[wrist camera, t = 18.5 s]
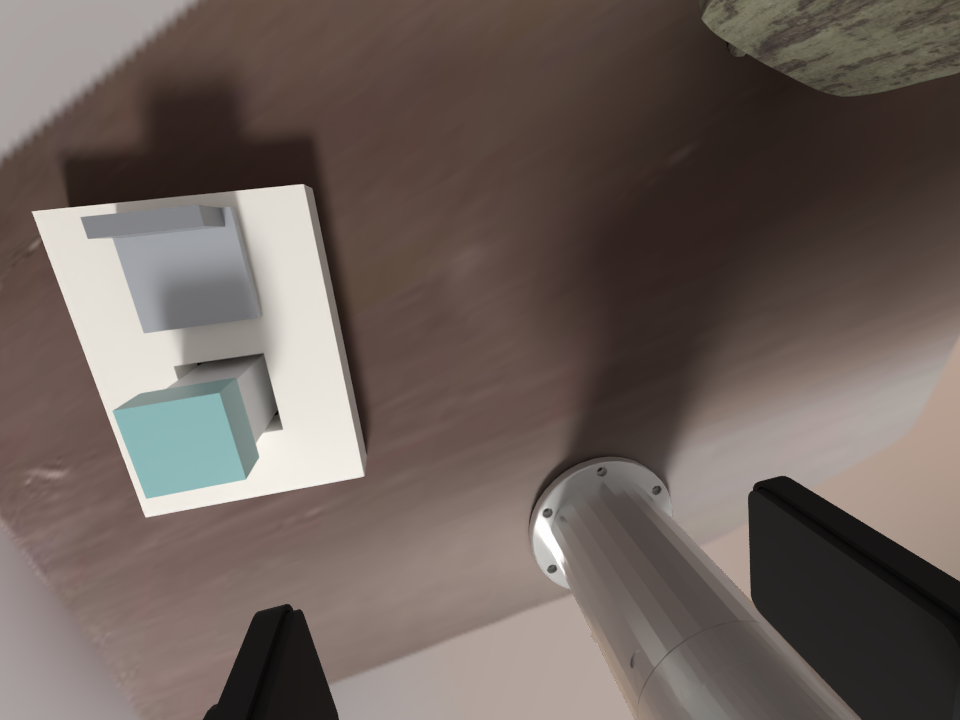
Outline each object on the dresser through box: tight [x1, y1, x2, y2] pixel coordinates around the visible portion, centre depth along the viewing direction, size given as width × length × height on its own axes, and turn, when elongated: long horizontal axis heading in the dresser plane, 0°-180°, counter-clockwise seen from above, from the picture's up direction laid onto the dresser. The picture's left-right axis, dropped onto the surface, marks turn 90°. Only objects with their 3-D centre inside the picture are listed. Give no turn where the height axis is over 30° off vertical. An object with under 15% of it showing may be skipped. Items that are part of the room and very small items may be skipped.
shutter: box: [80, 205, 262, 333], centre depth 25 cm, size 6×6×4 cm
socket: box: [32, 184, 367, 517], centre depth 30 cm, size 19×14×3 cm
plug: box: [113, 353, 278, 499], centre depth 27 cm, size 5×5×10 cm
